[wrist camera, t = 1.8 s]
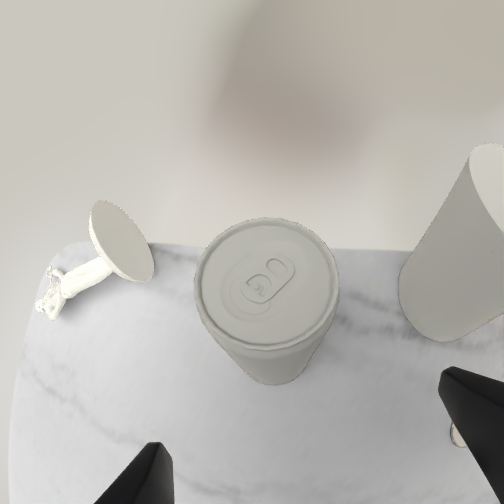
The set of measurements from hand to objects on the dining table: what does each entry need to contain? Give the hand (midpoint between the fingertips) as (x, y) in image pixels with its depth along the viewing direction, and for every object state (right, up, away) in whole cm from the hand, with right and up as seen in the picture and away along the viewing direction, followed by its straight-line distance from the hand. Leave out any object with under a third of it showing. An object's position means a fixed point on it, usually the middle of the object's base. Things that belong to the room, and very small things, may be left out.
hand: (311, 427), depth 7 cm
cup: (+13, +2, +13) cm, 19 cm away
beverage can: (0, -2, +12) cm, 12 cm away
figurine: (-11, +6, +13) cm, 18 cm away
